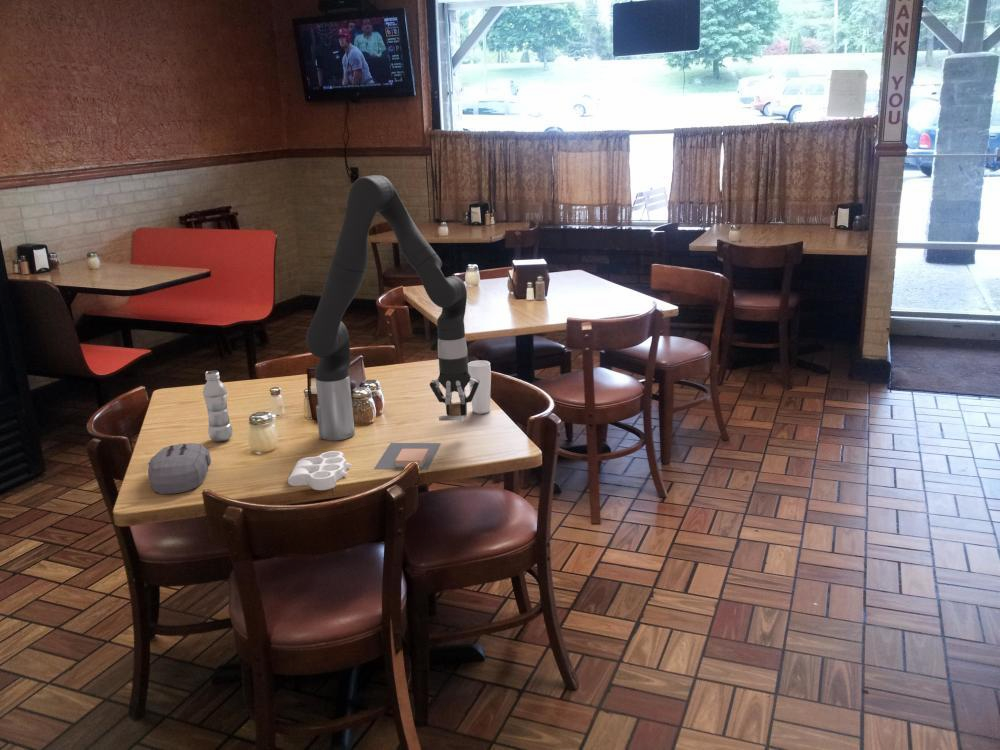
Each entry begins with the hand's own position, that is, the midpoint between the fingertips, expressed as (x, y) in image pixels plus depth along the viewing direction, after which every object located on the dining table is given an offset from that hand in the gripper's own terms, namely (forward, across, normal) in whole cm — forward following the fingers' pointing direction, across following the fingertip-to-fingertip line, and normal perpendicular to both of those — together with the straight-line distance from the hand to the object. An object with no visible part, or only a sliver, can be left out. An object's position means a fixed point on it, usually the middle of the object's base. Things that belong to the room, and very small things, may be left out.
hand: (457, 416), depth 235 cm
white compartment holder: (+9, -32, -20) cm, 38 cm away
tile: (+6, -10, -8) cm, 14 cm away
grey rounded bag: (+9, -68, -23) cm, 72 cm away
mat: (+9, -12, -8) cm, 17 cm away
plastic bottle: (+8, -69, +5) cm, 70 cm away
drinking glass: (+9, +2, +28) cm, 30 cm away
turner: (0, 0, -1) cm, 1 cm away
